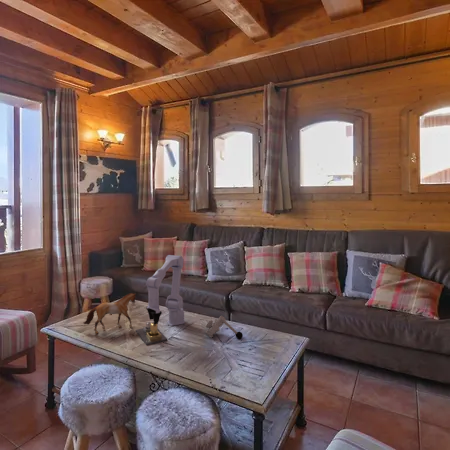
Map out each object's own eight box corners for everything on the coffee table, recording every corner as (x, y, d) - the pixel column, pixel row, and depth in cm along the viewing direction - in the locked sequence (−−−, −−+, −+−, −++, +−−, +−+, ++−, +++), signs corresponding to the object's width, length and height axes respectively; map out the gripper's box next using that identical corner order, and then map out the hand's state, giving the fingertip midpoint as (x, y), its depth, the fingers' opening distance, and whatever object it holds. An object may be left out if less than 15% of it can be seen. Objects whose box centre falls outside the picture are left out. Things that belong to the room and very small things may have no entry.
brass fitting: (156, 335, 187) (156, 321, 186) (158, 337, 183) (158, 324, 183) (149, 336, 185) (149, 323, 184) (151, 339, 181) (151, 325, 180)
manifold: (155, 327, 200) (155, 317, 200) (167, 340, 182) (167, 330, 182) (135, 331, 194) (135, 321, 194) (146, 345, 176) (146, 334, 176)
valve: (225, 356, 184) (242, 340, 180) (200, 332, 185) (216, 315, 181) (229, 347, 194) (245, 331, 190) (205, 324, 195) (220, 308, 191)
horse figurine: (136, 323, 207) (135, 291, 205) (138, 327, 200) (138, 295, 198) (83, 331, 193) (82, 298, 191) (84, 336, 186) (83, 302, 184)
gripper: (142, 295, 187) (143, 318, 189) (150, 303, 175) (151, 327, 176) (154, 294, 191) (154, 316, 192) (163, 301, 179) (163, 324, 180)
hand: (153, 321), depth 185 cm, fingers open, 7 cm apart
